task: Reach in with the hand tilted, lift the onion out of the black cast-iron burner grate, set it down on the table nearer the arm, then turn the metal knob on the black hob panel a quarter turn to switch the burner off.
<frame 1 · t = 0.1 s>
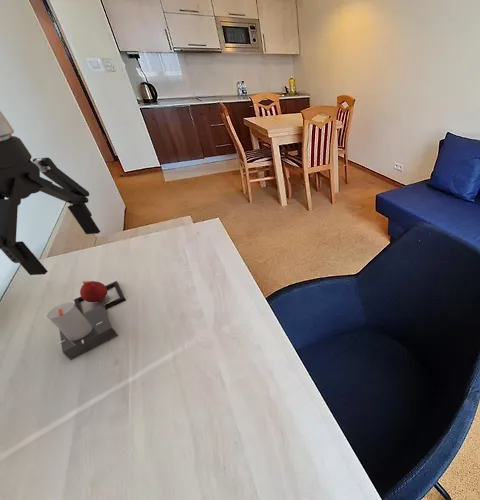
hand: (68, 251, 59), 27 cm above the table, tool pointing down, fingers open, 13 cm apart
burner grate: (101, 301, 88), on the table
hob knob: (70, 321, 72), point 7 cm above the table, hinge at 0.0°
onion: (101, 301, 88), resting in burner grate
hob panel: (91, 333, 78), on the table
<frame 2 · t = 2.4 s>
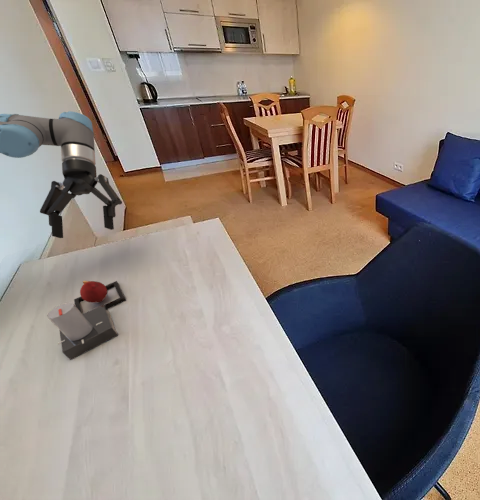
hand: (83, 232, 86), 18 cm above the table, tool tilted 45°, fingers open, 13 cm apart
nothing on the table moved.
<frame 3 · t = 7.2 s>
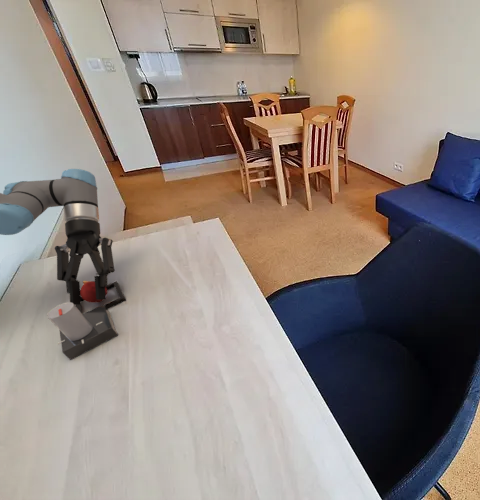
hand: (88, 301, 83), 3 cm above the table, tool tilted 45°, fingers closed on onion, 6 cm apart
onion: (101, 301, 88), resting in burner grate, touching gripper
everything else where it was.
when the fingers open (3 cm above the table, at t = 15.2 s): onion stays where it is, on the table.
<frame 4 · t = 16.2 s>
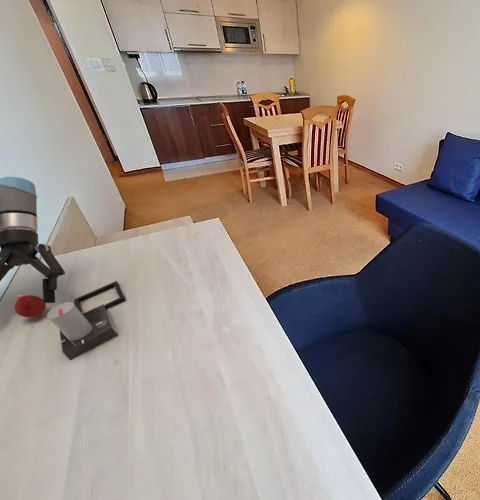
hand: (20, 308, 80), 5 cm above the table, tool tilted 45°, fingers open, 13 cm apart
onion: (40, 316, 85), on the table
everything else where it was.
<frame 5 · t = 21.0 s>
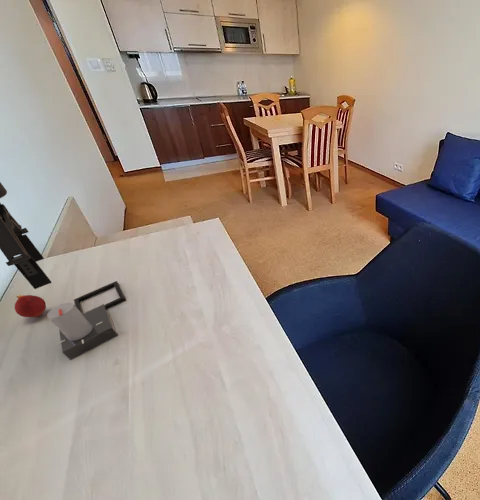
hand: (39, 272, 67), 20 cm above the table, tool pointing down, fingers open, 13 cm apart
nothing on the table moved.
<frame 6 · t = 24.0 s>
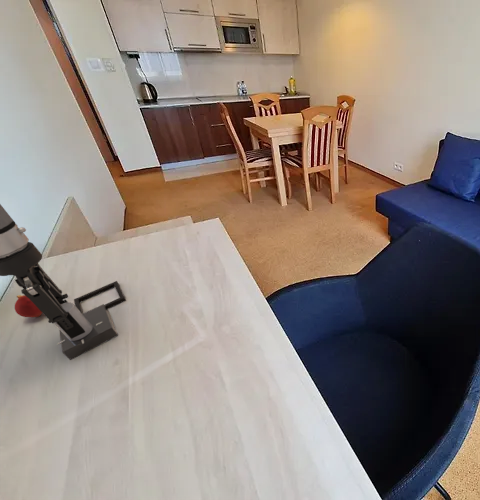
hand: (76, 328, 73), 5 cm above the table, tool pointing down, fingers closed on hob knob, 5 cm apart
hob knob: (70, 321, 72), point 7 cm above the table, hinge at 0.0°, touching gripper
everything else where it was.
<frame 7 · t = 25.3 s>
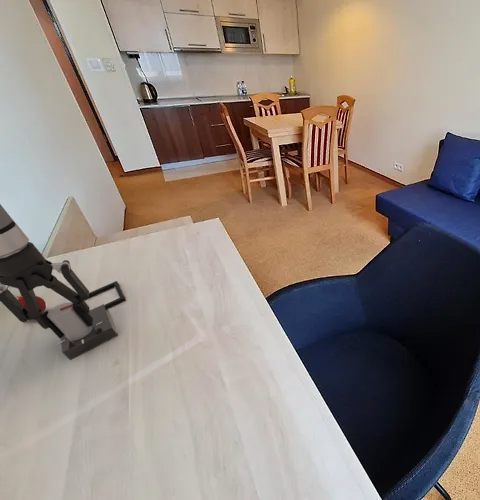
hand: (76, 328, 73), 5 cm above the table, tool pointing down, fingers closed on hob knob, 5 cm apart
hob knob: (70, 321, 72), point 7 cm above the table, hinge at 80.3°, touching gripper
everything else where it was.
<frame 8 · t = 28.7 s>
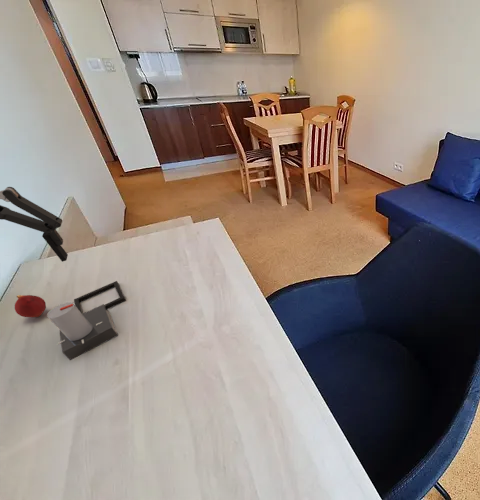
hand: (25, 270, 63), 23 cm above the table, tool pointing down, fingers open, 13 cm apart
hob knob: (70, 321, 72), point 7 cm above the table, hinge at 80.5°
everything else where it was.
at the end: onion inside the target area (0.1 cm from its centre), on the table; the gripper is holding nothing; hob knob at +80° (first picture: +0°) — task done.
